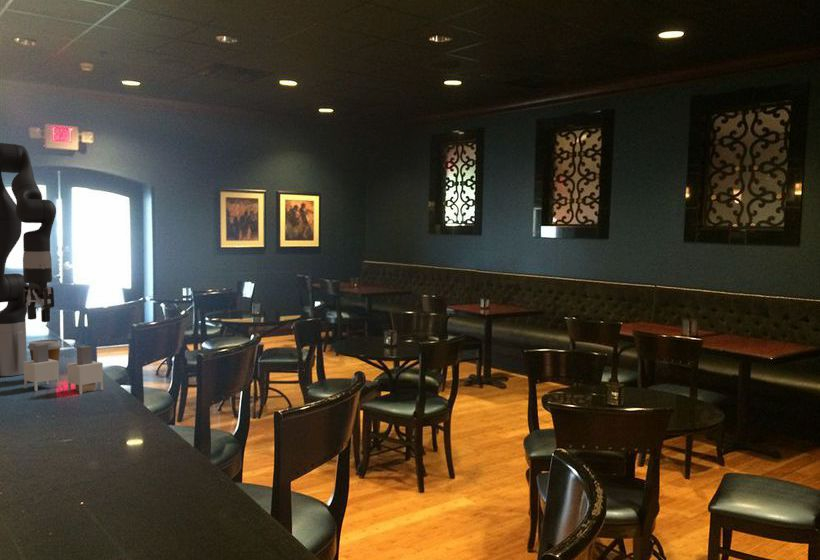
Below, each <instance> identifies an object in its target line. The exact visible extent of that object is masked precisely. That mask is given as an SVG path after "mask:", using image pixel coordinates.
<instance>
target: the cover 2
mask: <svg viewBox="0 0 820 560" xmlns="http://www.w3.org/2000/svg"><path fill="white" fill-rule="evenodd" d="M66 367H67V368H66V370H67V371H66V373H67V392H71V391H72V384H73V385H75V384H76V385H79V391H78V393H79V394H80V395H82V394H83V392H82V385H85V384H91V383H99V386H100V389H99V390H101V391H103V390H104V374H103V373H104V371H103V370H104V369H103V367H104V365H103V362H100V361H95V360H93V347H92V345H81V346H76V362H70V363H67V364H66Z"/></svg>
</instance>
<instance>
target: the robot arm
mask: <svg viewBox="0 0 820 560" xmlns="http://www.w3.org/2000/svg"><path fill="white" fill-rule="evenodd" d="M2 173H8V174H16V175H15V177H13V179H12V181H11V184H10V187H11V192H12V194H13V195H14V198H15V201H16V202H15V201H14V198H13V197H11V195H10V193H9V192H8V190H7V188H6V186H5V184H4V181H3V176H2ZM56 214H57V207H56V205H55V203H54V202H53V201H51V200H50V199H43V195H42V192H41V190H40V188H39V186H38V184H37V183H36V179H35V177H34V171H33V166H32V162H31V156H30V155H29V152H28V150H27V148H26V147H25V146H23V145H21V144H15V143H6V142H0V303H7V305H6V306H5V307H4V308H3V309H2V310H0V377H11V376H12V377H13V376H20V375H24V362H26V361H28V352H27V350H28V349H27V348H28V346H27V327H26V326H27V325H26V324H27V323H26V317H27V319H28V320H36V319H37V304H39V307H40V312H41V313H40V314H41V322H42V323H49V322H50V321H51V309H53V308H55V293H54V290H55V289H54V287H53V286H48V283H51V282H52V281H53V268H52V266H53V264H52V263H53V262H52V254H51V235H52V230H53V225H54V222H55V218H56V216H57V215H56ZM22 223H25V224H40V226H39V228H38V229H35V230H29V231H26V232H24V233H23V236H22ZM21 236H22V238H23V239H22V240H23V241H22V243H23V248H22V249H23V254H22V255H23V257H22V270H23V271H22V272H23V273H5V270H6V263H7V260H8V258H9V255H11V252H12V251H13V249H14V248H15V246H16V245H17V243H18V242H19V240H20V238H21Z"/></svg>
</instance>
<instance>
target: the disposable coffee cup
mask: <svg viewBox="0 0 820 560" xmlns="http://www.w3.org/2000/svg"><path fill="white" fill-rule="evenodd" d="M37 344H47V345H48V359H52V360H57V361H60V352H61V351H60V350H61V347H62V343H61V341H60V340H59V339H41V340H40V339H39V340H32V341H30V342H29V343H28V346H27V348H28V350H29V354H30V355H29V356H30V359H31V360H30V361H33V345H37Z"/></svg>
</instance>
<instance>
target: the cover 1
mask: <svg viewBox="0 0 820 560" xmlns="http://www.w3.org/2000/svg"><path fill="white" fill-rule="evenodd" d="M59 361H60V360H59ZM59 361H57V360H52V359H48V345H47V344H37V345H33V361H31V360H27V361H26V362H24V374H23V381H24V382H23V383H24V384H23V385H24V387H23V388H24V389H28V382H30V383H33V384H34V385H33V386H34V387H33V388H34V392H39V391H38V383H42V382H45V383H46V384H45V385H50V381H56V382H55V383H56V384H55V385H56V388H60V366H59V363H60V362H59Z"/></svg>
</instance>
